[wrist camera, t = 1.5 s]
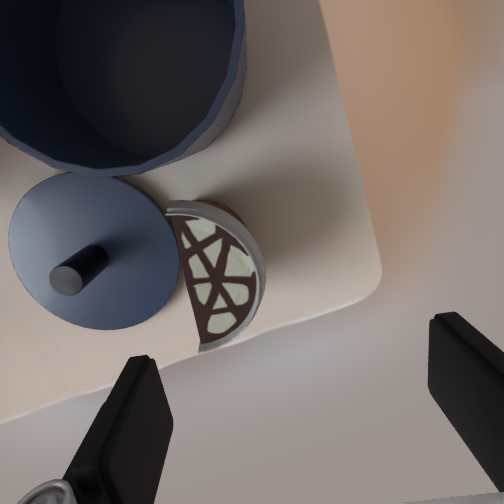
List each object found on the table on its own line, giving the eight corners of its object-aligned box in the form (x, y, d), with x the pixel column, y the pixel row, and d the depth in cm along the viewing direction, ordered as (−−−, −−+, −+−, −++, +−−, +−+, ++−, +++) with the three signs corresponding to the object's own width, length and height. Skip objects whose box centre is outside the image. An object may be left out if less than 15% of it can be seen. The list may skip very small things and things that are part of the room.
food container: (269, 291, 35) (276, 348, 26) (212, 299, 35) (199, 358, 26) (252, 175, 31) (254, 193, 22) (188, 185, 31) (163, 206, 22)
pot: (82, 169, 31) (-16, 189, 19) (25, -45, 25) (-155, -192, 14) (254, 152, 30) (257, 162, 19) (234, -69, 25) (222, -240, 14)
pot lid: (45, 330, 36) (2, 371, 30) (-9, 179, 31) (-75, 190, 25) (193, 317, 36) (181, 355, 30) (165, 162, 31) (143, 169, 24)
